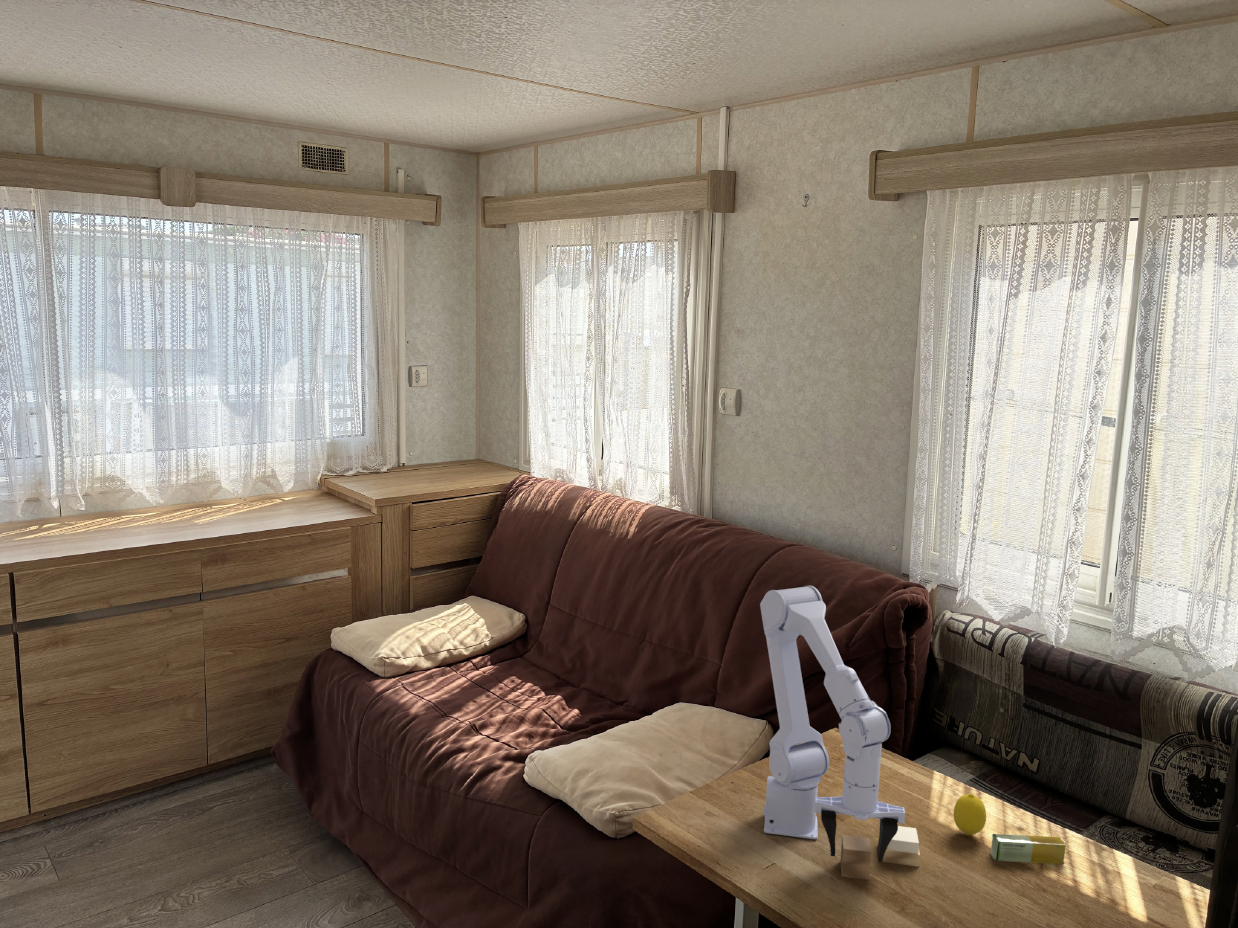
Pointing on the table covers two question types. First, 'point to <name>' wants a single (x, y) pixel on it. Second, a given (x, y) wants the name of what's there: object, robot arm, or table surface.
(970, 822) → the lemon
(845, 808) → the robot arm
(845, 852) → the walnut block
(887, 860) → the oak base block
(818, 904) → the table surface
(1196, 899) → the table surface
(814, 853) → the table surface
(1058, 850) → the medication box
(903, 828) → the cream block
